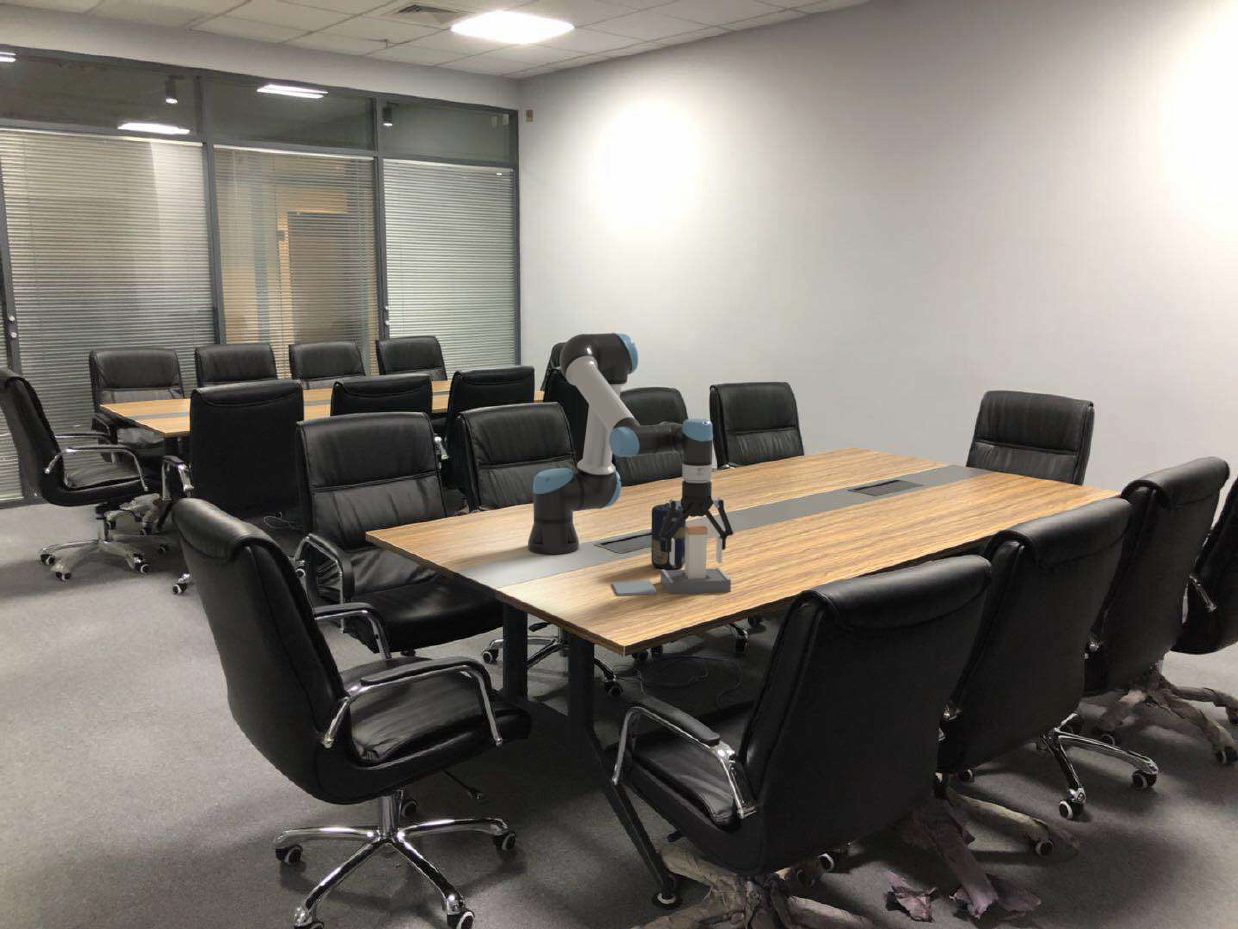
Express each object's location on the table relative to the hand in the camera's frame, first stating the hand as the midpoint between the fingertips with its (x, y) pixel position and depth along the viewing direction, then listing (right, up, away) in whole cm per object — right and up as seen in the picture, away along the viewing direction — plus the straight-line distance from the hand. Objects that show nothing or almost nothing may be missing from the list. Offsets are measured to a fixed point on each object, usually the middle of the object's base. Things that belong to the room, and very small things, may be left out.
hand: (695, 563), depth 250 cm
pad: (-16, -7, -1) cm, 17 cm away
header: (0, -6, +1) cm, 6 cm away
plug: (0, -6, +1) cm, 6 cm away
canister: (-6, -3, +20) cm, 21 cm away
